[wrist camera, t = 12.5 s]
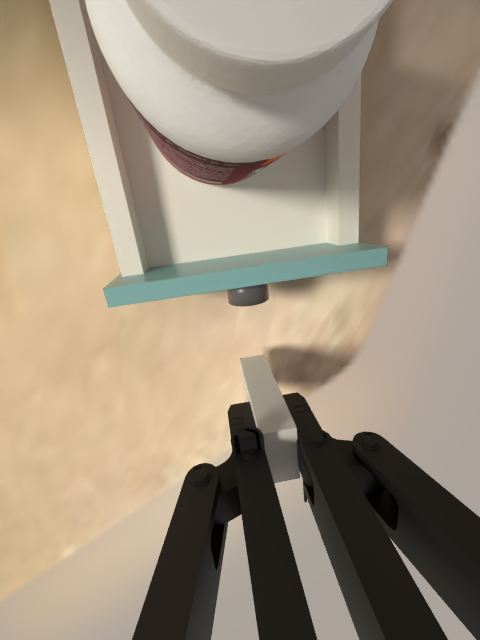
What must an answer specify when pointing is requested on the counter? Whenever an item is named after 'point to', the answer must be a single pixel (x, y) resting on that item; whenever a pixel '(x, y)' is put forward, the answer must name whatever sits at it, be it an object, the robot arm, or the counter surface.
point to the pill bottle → (234, 74)
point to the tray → (213, 197)
